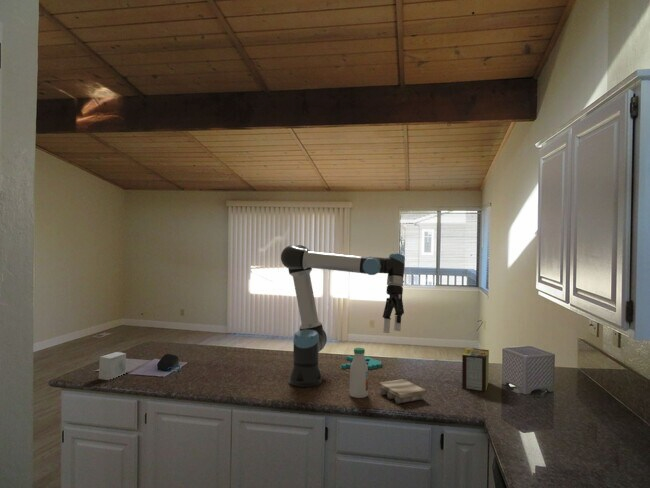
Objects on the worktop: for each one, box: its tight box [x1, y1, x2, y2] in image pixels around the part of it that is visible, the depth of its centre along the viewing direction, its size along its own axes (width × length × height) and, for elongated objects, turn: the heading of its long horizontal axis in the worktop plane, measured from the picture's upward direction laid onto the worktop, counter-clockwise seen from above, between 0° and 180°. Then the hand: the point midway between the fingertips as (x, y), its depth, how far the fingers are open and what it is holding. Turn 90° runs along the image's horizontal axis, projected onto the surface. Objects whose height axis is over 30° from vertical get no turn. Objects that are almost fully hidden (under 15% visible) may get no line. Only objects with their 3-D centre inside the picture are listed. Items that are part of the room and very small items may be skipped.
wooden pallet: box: [378, 378, 427, 405], centre depth 182 cm, size 16×13×4 cm
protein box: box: [461, 347, 490, 393], centre depth 199 cm, size 10×15×16 cm
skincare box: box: [98, 351, 127, 381], centre depth 204 cm, size 10×6×10 cm, turn 161°
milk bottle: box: [349, 347, 369, 399], centre depth 183 cm, size 8×8×20 cm
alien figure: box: [340, 355, 383, 371], centre depth 231 cm, size 20×2×20 cm
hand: (391, 331), depth 195 cm, fingers open, 13 cm apart
